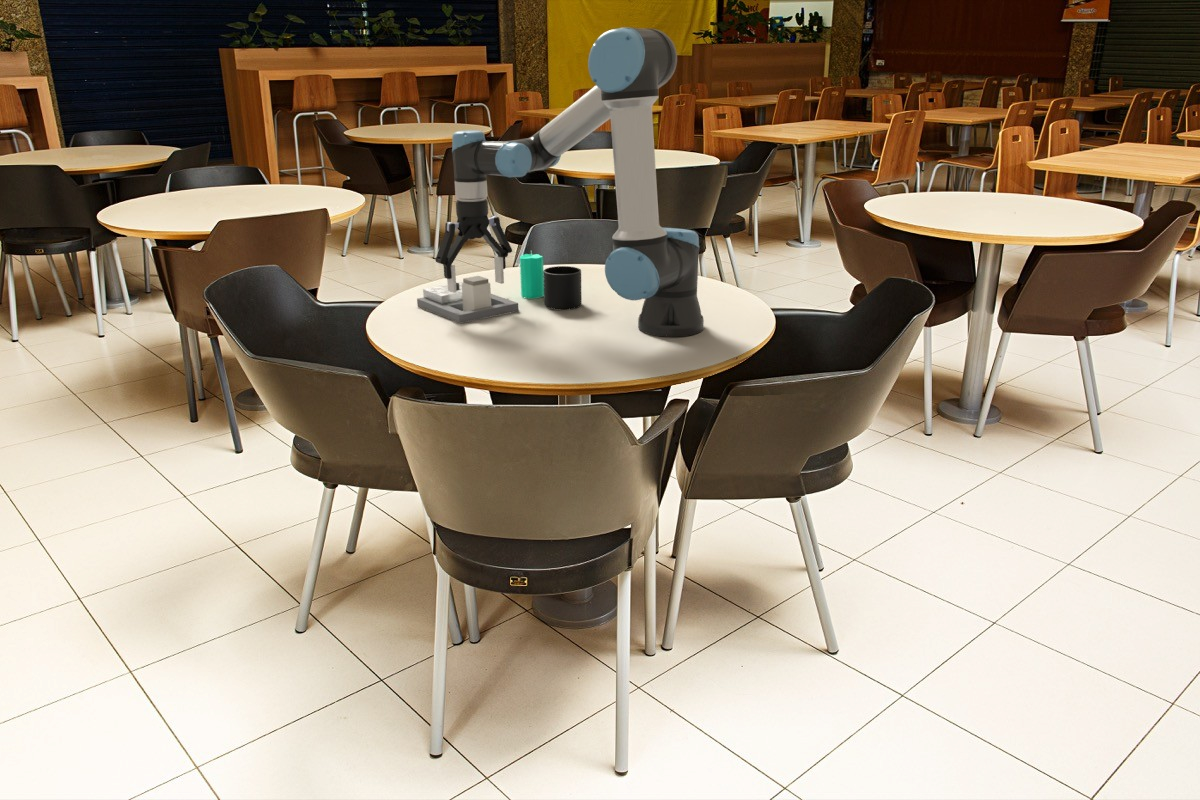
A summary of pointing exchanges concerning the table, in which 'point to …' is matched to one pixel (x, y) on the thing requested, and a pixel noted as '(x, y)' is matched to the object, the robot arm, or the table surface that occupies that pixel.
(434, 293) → the panel
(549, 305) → the mug
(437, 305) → the grey flat frame
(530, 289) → the candle
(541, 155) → the robot arm
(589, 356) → the table surface
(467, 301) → the plug
